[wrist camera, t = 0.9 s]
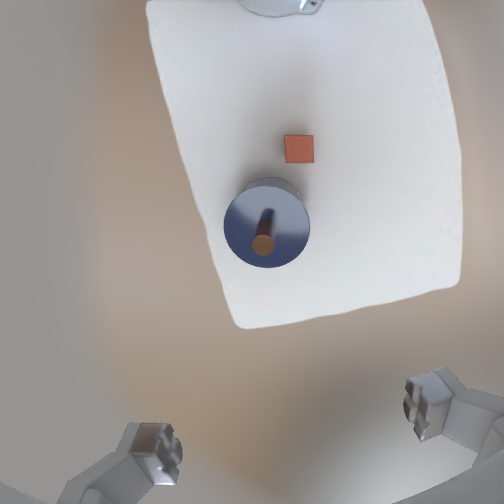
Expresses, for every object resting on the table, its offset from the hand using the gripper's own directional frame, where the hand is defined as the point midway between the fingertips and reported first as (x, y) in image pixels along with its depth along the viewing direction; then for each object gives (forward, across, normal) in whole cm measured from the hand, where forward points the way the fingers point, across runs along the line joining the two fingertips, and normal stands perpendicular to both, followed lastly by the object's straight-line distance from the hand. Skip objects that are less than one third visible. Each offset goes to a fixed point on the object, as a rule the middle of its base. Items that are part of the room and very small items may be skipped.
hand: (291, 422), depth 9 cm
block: (+46, -9, -12) cm, 48 cm away
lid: (+38, -1, 0) cm, 38 cm away
